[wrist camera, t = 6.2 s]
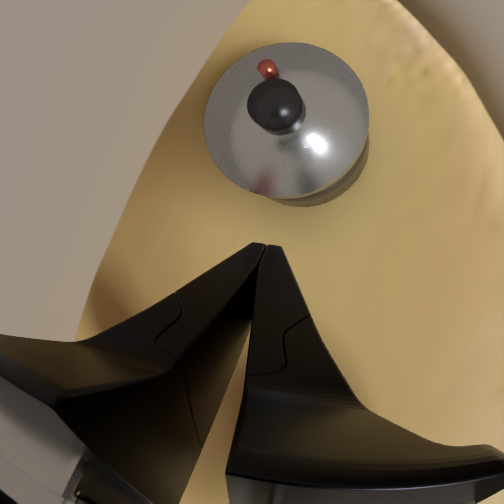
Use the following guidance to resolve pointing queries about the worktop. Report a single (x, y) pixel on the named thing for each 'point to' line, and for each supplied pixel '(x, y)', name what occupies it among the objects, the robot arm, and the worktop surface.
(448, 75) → the worktop surface
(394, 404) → the worktop surface
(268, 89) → the cooker lid
